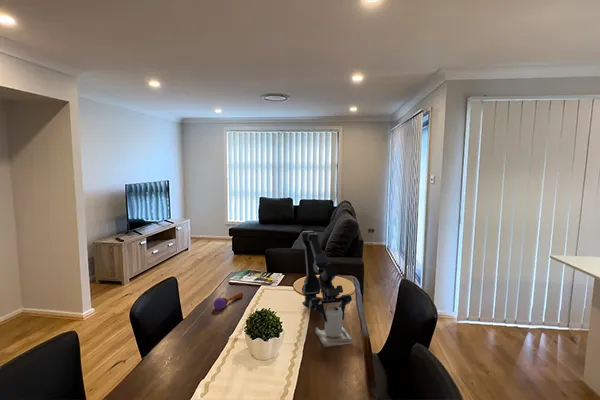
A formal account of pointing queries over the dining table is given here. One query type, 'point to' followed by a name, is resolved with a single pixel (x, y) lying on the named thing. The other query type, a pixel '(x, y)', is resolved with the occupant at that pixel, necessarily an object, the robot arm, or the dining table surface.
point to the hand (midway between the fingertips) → (334, 320)
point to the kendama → (225, 300)
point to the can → (333, 321)
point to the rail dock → (333, 338)
